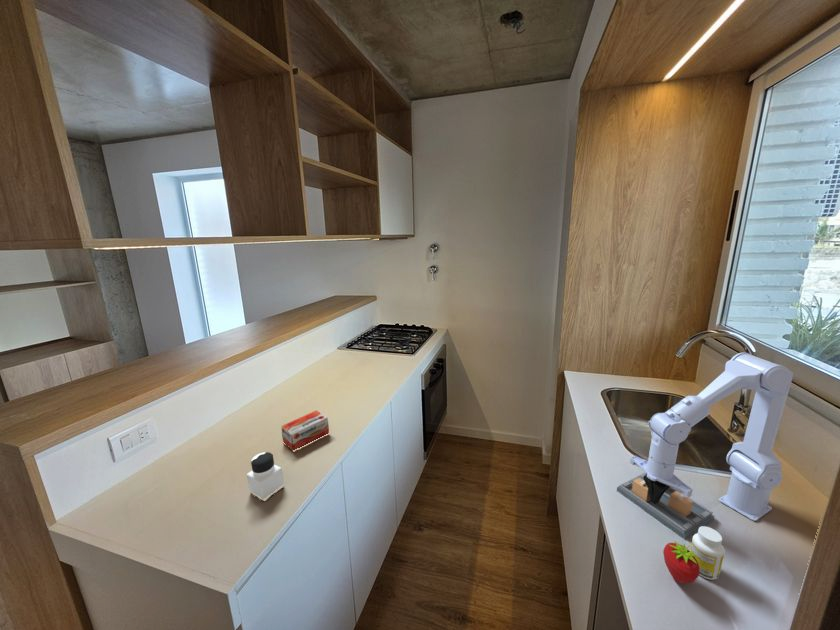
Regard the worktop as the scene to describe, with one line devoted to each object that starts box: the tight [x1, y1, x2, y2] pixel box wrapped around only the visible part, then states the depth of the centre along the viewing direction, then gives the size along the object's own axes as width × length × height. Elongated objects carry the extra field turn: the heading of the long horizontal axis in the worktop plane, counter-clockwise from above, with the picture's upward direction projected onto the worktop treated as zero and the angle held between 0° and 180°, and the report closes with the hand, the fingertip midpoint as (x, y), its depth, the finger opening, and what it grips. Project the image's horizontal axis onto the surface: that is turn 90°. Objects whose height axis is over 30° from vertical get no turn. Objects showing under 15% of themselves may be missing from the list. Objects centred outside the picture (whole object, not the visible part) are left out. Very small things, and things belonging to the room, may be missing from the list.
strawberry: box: [662, 540, 700, 584], centre depth 72 cm, size 6×8×10 cm
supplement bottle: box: [689, 526, 725, 581], centre depth 74 cm, size 5×5×10 cm
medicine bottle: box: [246, 451, 285, 499], centre depth 101 cm, size 7×7×12 cm
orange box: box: [632, 478, 650, 502], centre depth 94 cm, size 3×4×5 cm, turn 25°
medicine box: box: [281, 410, 330, 451], centre depth 126 cm, size 15×8×8 cm, turn 138°
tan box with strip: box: [668, 491, 693, 517], centre depth 89 cm, size 3×4×5 cm, turn 25°
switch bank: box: [616, 472, 715, 540], centre depth 93 cm, size 13×18×2 cm
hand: (654, 500), depth 91 cm, fingers closed
